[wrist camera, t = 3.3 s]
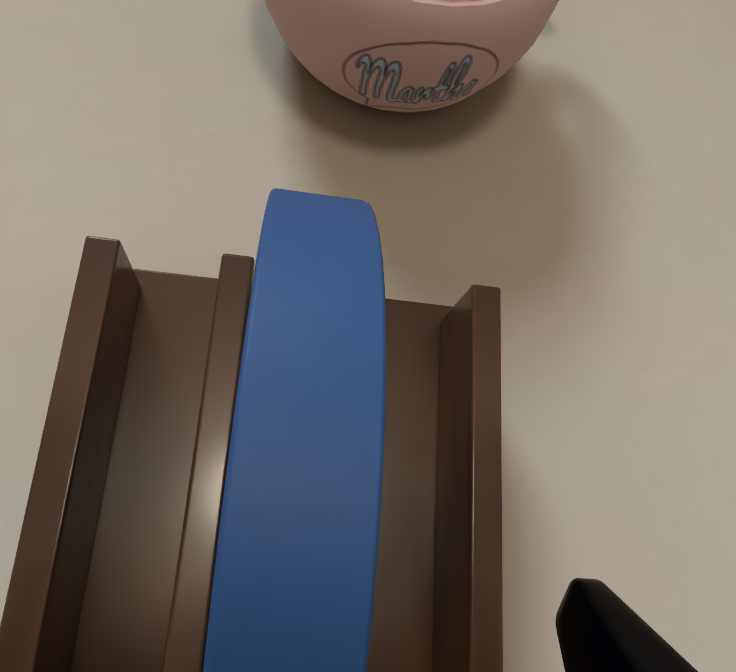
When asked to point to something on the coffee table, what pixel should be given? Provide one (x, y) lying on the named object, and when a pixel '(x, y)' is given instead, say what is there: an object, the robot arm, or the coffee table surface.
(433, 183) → the coffee table surface
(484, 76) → the mug
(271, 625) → the disc
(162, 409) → the rack
